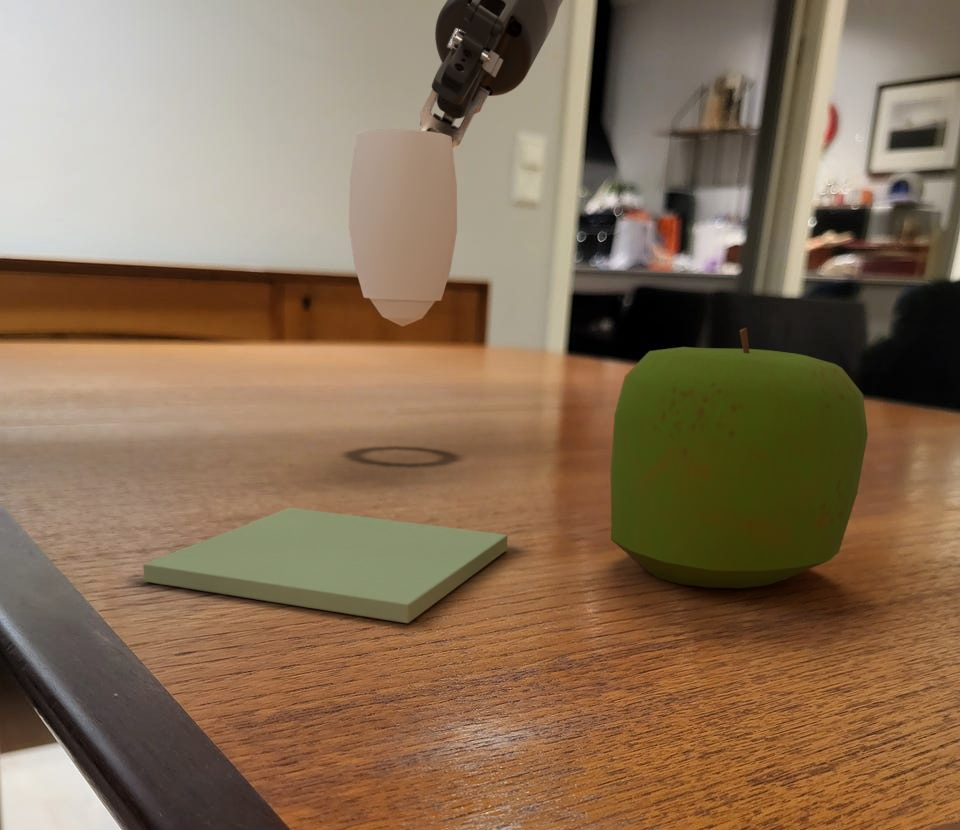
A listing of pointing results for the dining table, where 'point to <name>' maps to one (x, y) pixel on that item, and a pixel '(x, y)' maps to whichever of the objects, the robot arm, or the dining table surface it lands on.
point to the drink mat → (333, 563)
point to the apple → (734, 464)
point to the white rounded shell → (403, 219)
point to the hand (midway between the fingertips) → (425, 143)
